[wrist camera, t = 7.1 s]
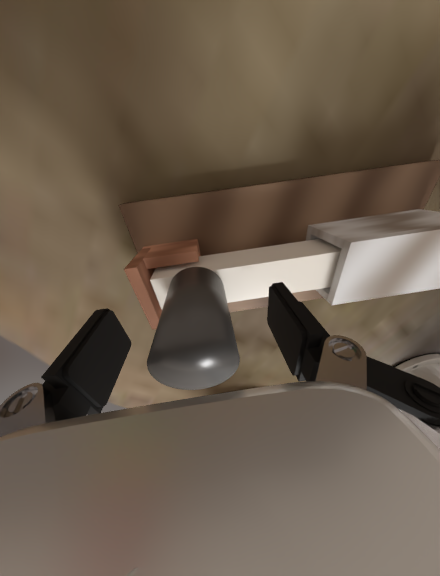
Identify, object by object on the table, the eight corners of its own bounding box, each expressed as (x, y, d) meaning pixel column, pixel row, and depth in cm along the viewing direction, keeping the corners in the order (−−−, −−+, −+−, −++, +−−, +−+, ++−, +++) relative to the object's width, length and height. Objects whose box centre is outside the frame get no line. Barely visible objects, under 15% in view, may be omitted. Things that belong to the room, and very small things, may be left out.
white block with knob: (325, 232, 14) (468, 290, 7) (316, 274, 16) (416, 354, 9) (157, 256, 14) (105, 346, 6) (170, 296, 16) (143, 398, 8)
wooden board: (430, 160, 14) (566, 148, 9) (375, 283, 21) (435, 317, 15) (124, 203, 14) (77, 216, 8) (167, 315, 20) (155, 362, 15)
